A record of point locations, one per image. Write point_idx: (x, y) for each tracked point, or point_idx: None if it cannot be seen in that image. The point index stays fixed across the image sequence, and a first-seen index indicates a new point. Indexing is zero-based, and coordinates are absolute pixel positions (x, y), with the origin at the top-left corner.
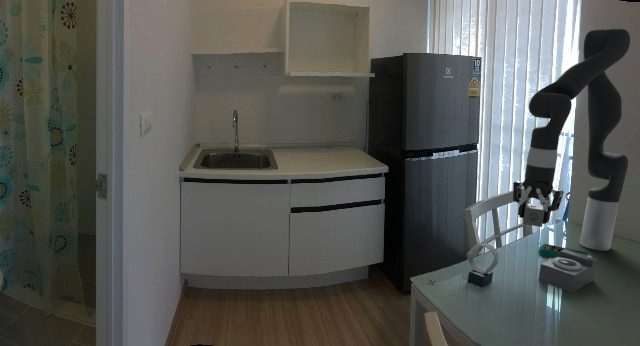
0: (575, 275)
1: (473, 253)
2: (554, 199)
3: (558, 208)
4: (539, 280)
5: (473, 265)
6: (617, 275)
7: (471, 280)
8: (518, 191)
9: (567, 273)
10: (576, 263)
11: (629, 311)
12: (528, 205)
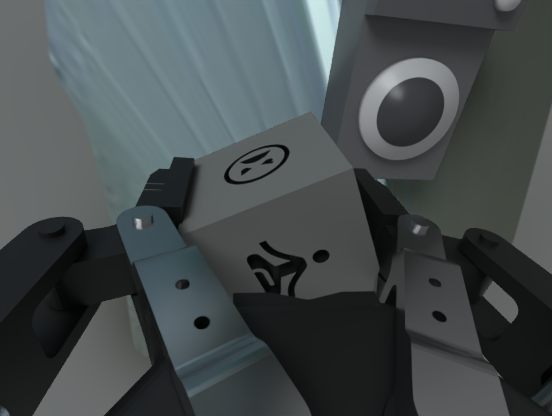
0: (435, 172)
1: None
2: (525, 387)
3: (504, 244)
4: None
5: None
6: None
7: None
8: (26, 380)
9: (413, 178)
10: (442, 89)
11: (531, 142)
12: (236, 277)
